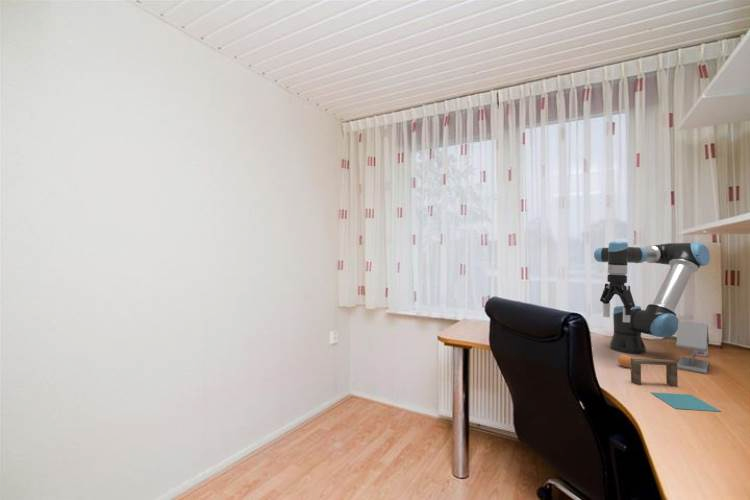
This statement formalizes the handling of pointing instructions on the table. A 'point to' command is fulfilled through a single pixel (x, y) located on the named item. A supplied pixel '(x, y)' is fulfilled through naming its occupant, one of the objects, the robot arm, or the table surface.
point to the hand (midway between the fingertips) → (615, 319)
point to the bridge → (670, 364)
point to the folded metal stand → (692, 345)
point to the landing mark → (684, 402)
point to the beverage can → (701, 352)
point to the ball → (624, 360)
